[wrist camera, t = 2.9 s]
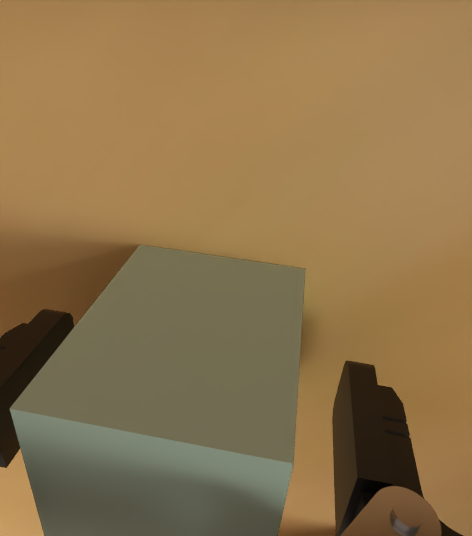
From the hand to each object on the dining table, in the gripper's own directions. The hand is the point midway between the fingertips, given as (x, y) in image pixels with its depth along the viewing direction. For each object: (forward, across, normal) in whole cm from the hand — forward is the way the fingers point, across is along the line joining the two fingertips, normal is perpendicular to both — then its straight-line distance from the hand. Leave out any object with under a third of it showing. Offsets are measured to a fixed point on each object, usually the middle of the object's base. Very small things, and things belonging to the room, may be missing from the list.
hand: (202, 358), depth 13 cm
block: (+2, 0, 0) cm, 2 cm away
